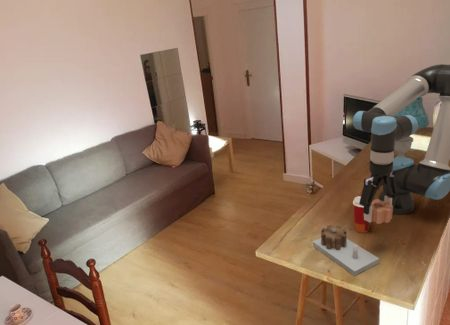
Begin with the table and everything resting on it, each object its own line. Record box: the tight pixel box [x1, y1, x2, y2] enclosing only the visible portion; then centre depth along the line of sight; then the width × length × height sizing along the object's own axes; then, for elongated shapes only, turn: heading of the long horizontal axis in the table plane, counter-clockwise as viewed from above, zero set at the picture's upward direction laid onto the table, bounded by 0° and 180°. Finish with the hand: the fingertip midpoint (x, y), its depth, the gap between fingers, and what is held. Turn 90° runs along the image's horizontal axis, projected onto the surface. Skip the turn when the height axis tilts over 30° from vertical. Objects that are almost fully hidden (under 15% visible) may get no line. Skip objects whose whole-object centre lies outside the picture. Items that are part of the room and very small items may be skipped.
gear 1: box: [320, 225, 348, 250], centre depth 135 cm, size 10×10×6 cm
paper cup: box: [352, 195, 371, 233], centre depth 143 cm, size 8×8×14 cm
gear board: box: [312, 237, 380, 277], centre depth 131 cm, size 12×22×7 cm, turn 27°
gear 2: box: [371, 198, 393, 225], centre depth 127 cm, size 10×10×5 cm
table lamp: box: [394, 96, 430, 158], centre depth 190 cm, size 24×24×40 cm
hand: (377, 216), depth 128 cm, fingers closed on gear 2, 10 cm apart
